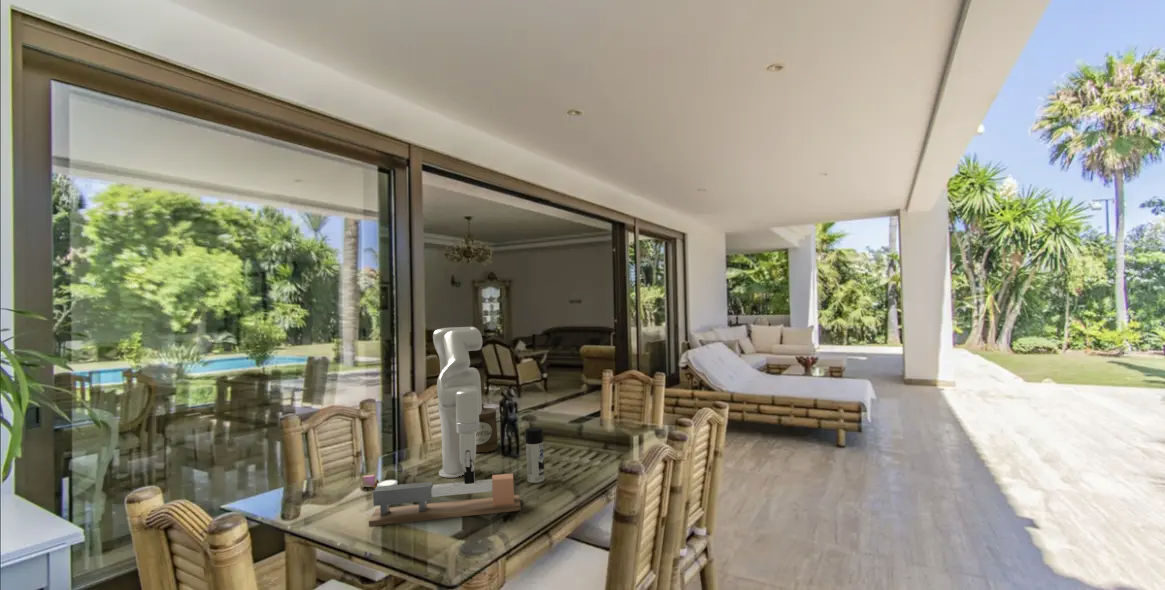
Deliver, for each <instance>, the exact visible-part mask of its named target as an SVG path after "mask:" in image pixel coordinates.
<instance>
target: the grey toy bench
mask: <svg viewBox="0 0 1165 590" xmlns="http://www.w3.org/2000/svg"><path fill="white" fill-rule="evenodd" d="M432 485H433V481H424V482H413V483H412V482H411V483H401V484H397V485H390V486H379V487H376V488H375V490H374V489H373V491H372V500H373V501H372V502H373V503H372V505H373V507H376V506H377V507H378V506H379V507H380V511H381V516H387V515H388V513H389V511H390V507H391V505H389V504H392V505H398V504H399V505H400V504H408V503H409V504H411V503H418V505H419V513H420V512H426V509H427V504H428V502H429V501H432V498H433V497H431V486H432Z"/></svg>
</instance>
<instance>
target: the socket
mask: <svg viewBox="0 0 1165 590" xmlns="http://www.w3.org/2000/svg"><path fill="white" fill-rule="evenodd" d="M491 479H492V487H493V491H492V497H493V506H495V505H505V504H514V495H515V490H514V489H515V488H514V487H515V486H514V473H513V472H512V473H504V474H503V473H502V474H492V478H491Z"/></svg>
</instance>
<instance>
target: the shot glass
mask: <svg viewBox="0 0 1165 590" xmlns="http://www.w3.org/2000/svg"><path fill="white" fill-rule="evenodd" d="M390 485H398V480H396V479H386V480H381V481H379V483H378V484H377V487H379V486H390ZM389 505H390V506H392V505H393V504H389Z"/></svg>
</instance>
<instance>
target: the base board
mask: <svg viewBox="0 0 1165 590" xmlns="http://www.w3.org/2000/svg"><path fill="white" fill-rule="evenodd" d="M521 508H522V507H521V498H520V494H514V504H505V505H495V506H493V496H492V497H482V498H481V497H480V498H471V499H463V500H451V501H440V502H431V503H427V509H426V512H420V513H419V504H412V505H402V506H401V505H400V506H392V507H391V506H390V511H389V513H388V515H387V516H381V511H380V508H375V510H374V512H373V514H372V515H371V517H370V518H369V520H368V527H373V526H381V525H392V524H402V523H412V522H420V521H421V522H422V521H432V520H441V519H450V518H460V517H470V516H479V515H488V514H498V513H499V514H500V513H507V512H518V511H519V510H520V511H521V510H522V509H521ZM520 511H519V512H520Z"/></svg>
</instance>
